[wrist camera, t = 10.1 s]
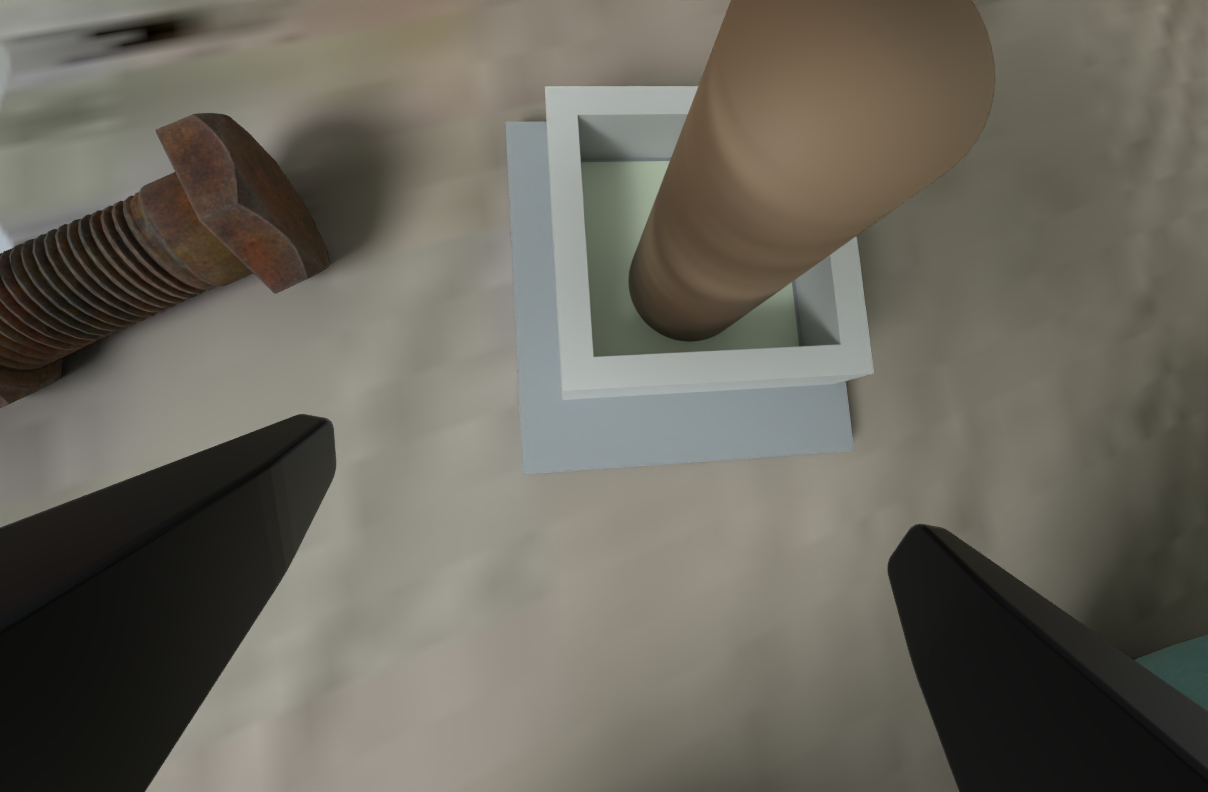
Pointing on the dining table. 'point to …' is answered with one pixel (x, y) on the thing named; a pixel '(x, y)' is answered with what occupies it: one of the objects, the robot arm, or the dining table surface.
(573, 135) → the white tray
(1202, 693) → the teal bowl
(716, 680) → the dining table surface
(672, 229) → the walnut cylinder
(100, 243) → the bolt
